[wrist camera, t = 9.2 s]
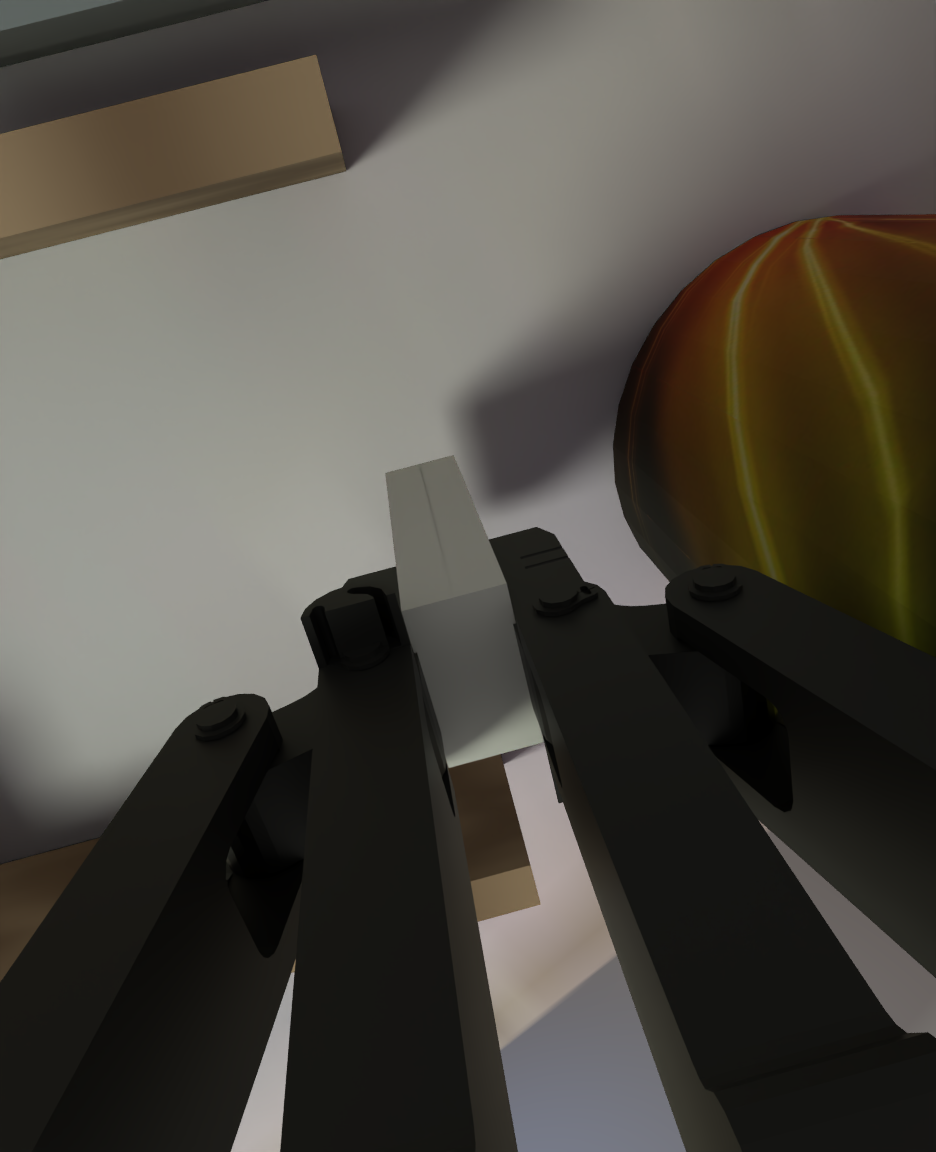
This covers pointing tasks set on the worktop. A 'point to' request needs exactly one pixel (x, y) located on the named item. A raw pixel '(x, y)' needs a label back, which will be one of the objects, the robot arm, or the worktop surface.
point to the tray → (89, 22)
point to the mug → (797, 419)
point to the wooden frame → (164, 188)
